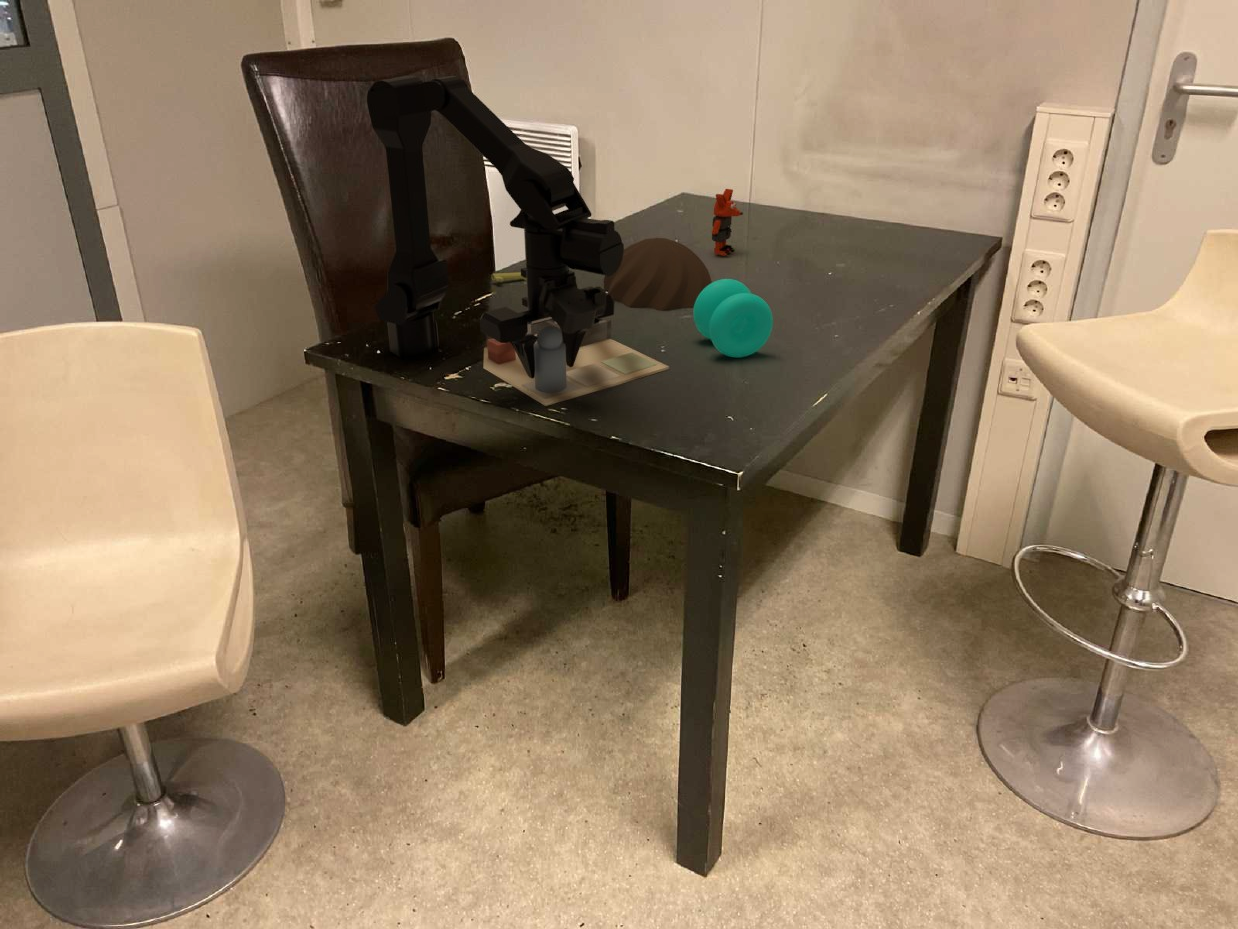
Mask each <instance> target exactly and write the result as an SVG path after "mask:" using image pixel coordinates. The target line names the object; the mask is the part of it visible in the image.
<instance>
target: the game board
mask: <svg viewBox="0 0 1238 929" xmlns="http://www.w3.org/2000/svg"><path fill="white" fill-rule="evenodd" d="M595 318H597V317H595ZM597 319H599V318H597ZM599 320H600V321H599V323H598V324H595V325H593V327H592V328H590V329H589V330H587V332H586V333H585V336H584V338H583V340H582V343H581V345H580V348H579V351H578V354H577V357H576V360H575V363H574V365H573V367H569V366H567V364H566V383H567V387H566V388H565V389H564V390H562V391H559V392H553V393H547V392H541V391H539V390H537V389H536V387H535V377H534V378H530V377H528V375H527V373H526V371H525V369H524V367H523V365H522V363H521V361H520V359H519V357H518V355H517V353H516V351H515V350H514V348H513V346H512V345H511V343H510V342H508V343H500V342H498V341H497V340H495V339H493V338H489V339H486V345H487V346H486V347H484V348H483V369H484V370H486V371H487V372H490V373H491V374H493V375H494V376H496V377H498V378H499V379H501V380H502V381H504V382H505V383H506V384H509V385H510V386H512V387H514V388H515V389H517V390H519V391H520V392H522V393H523V394H525V395H527V396H528V397H530V398H531V399H533V400H535V401H536V402H538V403H540V404H542V405H543V406H545V407H546V406H550V405H551V406H552V405H555V404H557V403H560V402H564V401H567V400H571V399H574V398H577V397H581V396H584V395H588V394H591V393H594V392H599V391H602V390H605V389H609V388H612V387H615V386H619V385H622V384H624V383H629V382H633V381H635V380H638V379H642V378H644V377H648V376H651V375H655V374H656V373H661V372H664V371H667V370H669V369H670V366H669V365H667V364H664V363H663V362H660V361H658V360H657V359H654V358H652V357H649V356H648V355H645V354H644V353H641V352H639V351H637V350H635V349H634V348H631V347H628V346H627V345H624V344H623V343H620V342H618V341H616V340H614V339H612V319H609V318H607V317H604V318H600V319H599ZM546 325H553V326H555V327H557V328H558V329H559V330H560V331H561V333H562V330H561V329H560V326H559V325H558V324H556V323H555V321H554V320H553V319H552V320H548V321H545V322H541V323H537V324H536V334H534V335H535V336H537V333H538V331H539V330H540V329H541V328H542V327H543V326H546ZM536 343H537V341H536V342H535V344H536ZM562 343H563V337H562ZM535 344H534V345H535Z"/></svg>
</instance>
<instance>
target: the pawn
mask: <svg viewBox="0 0 1238 929" xmlns="http://www.w3.org/2000/svg"><path fill="white" fill-rule="evenodd" d="M536 334H537V337H538V339H537V343H536V344H535V345H534V359H535V387H536V389H537V390H539V391H541V392H547V393H553V392H559V391H562V390H564V389H565V388H566V387H567V383H566V346H565V344H564V343H562V333H561V331H560V330H559V329H558V328H557V327H555V326H553V325H546V326H543V327H542V328H541V329H540V330H539V331H538V333H537V332H536Z"/></svg>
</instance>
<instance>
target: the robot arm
mask: <svg viewBox="0 0 1238 929" xmlns="http://www.w3.org/2000/svg"><path fill="white" fill-rule="evenodd" d="M366 104H367V109H368V114H369V117H370V122H371V126H372V129H373V131H374V133H375V134H376V135H377V137H378V138H379V140H380V141H381V143H382V145H383V146H384V148H385V153H386V155H385V156H386V163H387V175H388V184H389V192H390V203H391V214H392V223H393V231H394V232H393V233H394V242H395V251H394V254H393V257H392V259H391V261H390V264H389V266H388V269H387V285H386V286H387V290H386V292H385V293H384V294H383V295H382V297H381V298H380V299H379V301H377V303H376V304H375V305H374V309H375V310H374V311H375V312H376V314H377V317H378V320H379V321H383V322H386V325H387V333H388V341H389V351H390V353H393V355H395V356H397V357H398V358H399V359H400V360H401V361H403V362H404V361H410V360H414V359H419V358H423V357H426V356H431V355H435V354H440V353H442V350H441V349H440V348H439V344H440V343H439V332H438V323H437V321H436V319H434V317H435V316H434V313H433V312H434V311H438V310H440V308H441V304H442V300H443V299H444V297H445V296H446V294H447V287H449V286H451V284H450V281H449V279H448V278H449V277H448V262H447V260H446V259H444V258H443V259H442V258H441V259H439V257H438V256H437V254H436V253H435V252H434V250H433V248H432V246H431V235H430V222H429V211H428V202H427V200H428V198H427V188H426V186H427V185H426V176H425V165H424V164H425V163H424V153H423V145H424V142H425V140H426V137H427V134H428V132H429V129H430V127H431V124H432V112H434V111H437V112H438V113H439V114H440V116H442V117H443V118H444V119H445V120H446V121H447V122H448V123H449V124H450V125H451V126H453V127H454V129H455V130H456V131H458V133H460V135H461V136H463V137H464V138H465V140H467V141H468V143H470V144H471V145H472V146H473V147H474V148H475V149H476V151H478V152H479V153H480V154H481V155H482V156H483V158H485V159H486V160H487V161H488V162H489V163H490V164H491V166H493V167H494V168H495V169H496V170H497V171H498V173H499V174H500V176H501V177H502V178H501V179H502V182H503V185H504V189H505V191H506V192H507V193H508V195H509V196H510V198H511V199H512V201H514V203H515V204H516V205H517V207H518V208H519V209H520V210H519V213H518V214H517V215H516V216H515V217H514V218H512V220H510V221H509V225H510V227H512V228H518V229H521V230H522V229H523V231H524V232H523V234H524V236H523V237H524V250H525V251H524V252H525V267H522V268H520V272H521V276H522V277H525V278H526V296H525V297H521V305H522V306H523V307H525V308H527V310H524V311H521V312H517V311H514V310H513V309H510V308H509V307H507V306H503V307H499V308H496V309H491V310H486V311H484V312H483V313H482V315H481V316H480V318H479V328H480V333H482V334H484V335H486V336H488V337H489V338H490V339H492V338H493V339H495V340H497V341H498V342H500V343H508V342H510V343H511V345H512V346H513V348H514V350H515V351H516V353H517V355H518V357H519V359H520V361H521V363H522V365H523V367H524V369H525V371H526V373H527V375H528V377H530V378H534V377H535V359H534V344H535V342H536V341H537V339H538V337H537V336H535V335H536V334H533V333H532V325H537V323H541V322H545V321H548V320H552V319H553V320H554V321H555V322H556V323H557V324H558V325H559V326H560V329H561V330H562V337H563V343H564V344H565V346H566V364H567V366H569V367H573V365H574V363H575V360H576V357H577V354H578V351H579V348H580V345H581V343H582V340H583V338H584V336H585V333H586V332H587V330H589V329H590V328H592V327H593V325H595V324H598V323H599V321H600V320H599V319H600V318H604V317H605V318H607V317H611V316H615V310H616V308H615V307H616V306H615V304H616V303H615V300H613V298H612V296H611V295H610V294H608V292H606V291H605V290H604V288H602V286H595V287H593V286H587V287H582V288H579V287H578V283H577V276H576V274H575V271H581V272H587V273H592V274H597V275H602V276H605V275H606V276H611V275H613V274H614V273H616V271H617V270H618V269H619V267H620V265H621V262H622V258H623V252H624V249H625V247H624V246H625V245H624V242H623V241H622V237H621V235H620V233H619V232H618V231H617V230H615V221H614V220H611V219H594V218H590V217H592V211H591V210H590V209H589V206H588V205H587V203H586V202H585V200H584V197H582V195H581V193H580V191H579V189H578V188H577V186H576V184H575V183H574V180H575V178H574V176H573V173H572V172H571V171H570V170H569V168H568V167H567V166H565V165H564V164H563V163H561V162H560V161H558V160H557V159H556V158H554V157H553V156H552V155H550V154H548V153H546V152H543V151H541V150H538V149H535V148H533V147H531V146H529V145H528V144H527V143H525V142H524V141H523V140H522V139H521V138H520V137H519V136H518V135H517V134H516V133H515V132H514V131H512V130H511V128H510V127H509V126H508V125H507V124H505V122H503V121H502V120H501V119H500V118H499V117H498V116H497V115H496V114H495V113H494V112H493V111H492V109H491V108H489V107H488V106H487V105H486V104H485V103H484V102H483V101H482V100H481V99H480V98H479V97H478V96H477V95H476V94H475V93H473V92H472V91H471V90H470V88H469V87H468V84H467V82H466V81H465V80H464V79H463V78H461V77H459V76H457V75H447V76H442V77H436V78H432V79H430V80H428V81H423V80H422V79H421V78H420V77H418V76H416V75H405V76H399V77H394V78H386V79H382V80H377V81H375V82H373V84H372V85H371V86H370V88H368V90H367V93H366ZM564 207H566V208H567V209H565V210H562V211H559V212H557V213H554V211H556V210H559V209H561V208H564ZM570 269H571V270H570ZM572 270H575V271H572ZM595 317H597V318H599V319H597V318H595Z"/></svg>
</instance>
